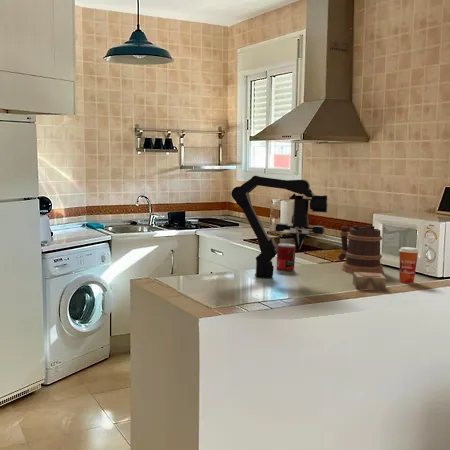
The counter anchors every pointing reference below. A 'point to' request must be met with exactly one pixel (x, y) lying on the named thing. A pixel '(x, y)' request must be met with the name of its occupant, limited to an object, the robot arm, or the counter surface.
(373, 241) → the mug
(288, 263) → the canned food
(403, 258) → the paper cup
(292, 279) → the counter surface
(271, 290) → the counter surface
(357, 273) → the wooden box
